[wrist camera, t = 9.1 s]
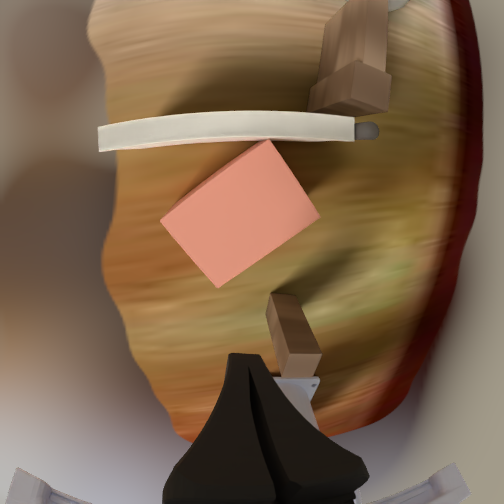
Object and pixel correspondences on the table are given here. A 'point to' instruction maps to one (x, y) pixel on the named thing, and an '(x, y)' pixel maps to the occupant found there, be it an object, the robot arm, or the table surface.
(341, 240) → the table surface
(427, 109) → the table surface
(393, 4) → the salt shaker
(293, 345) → the frame
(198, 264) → the block
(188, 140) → the door
